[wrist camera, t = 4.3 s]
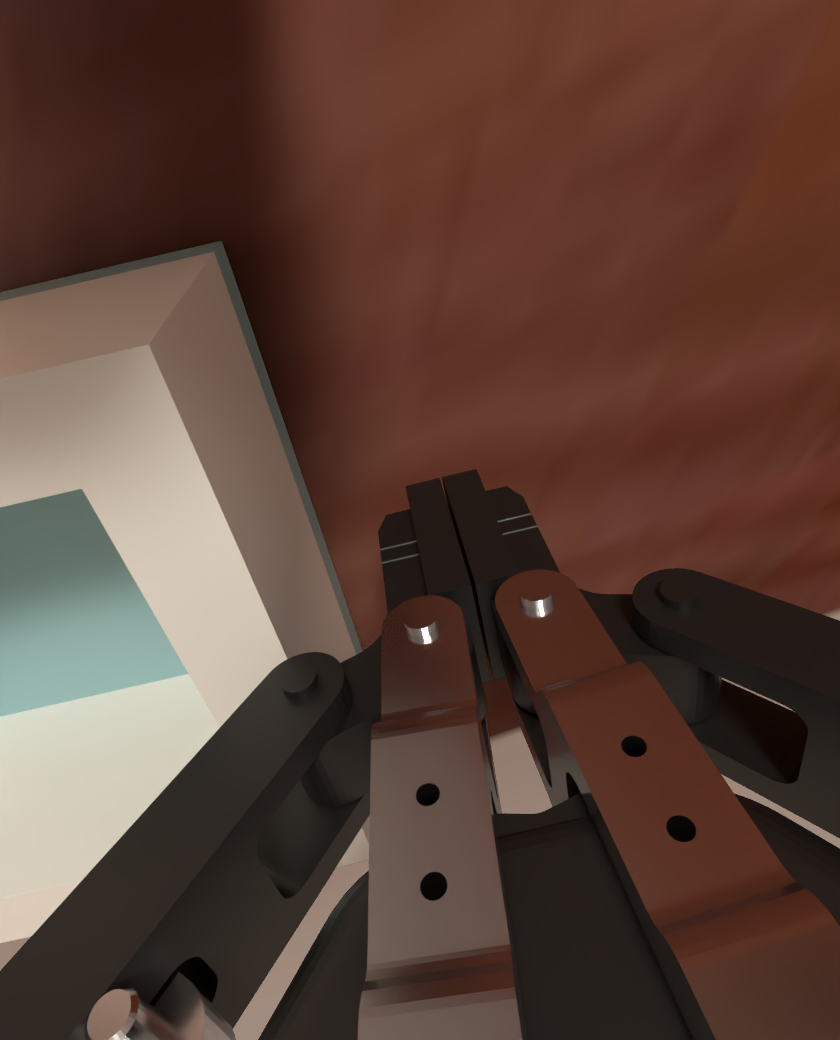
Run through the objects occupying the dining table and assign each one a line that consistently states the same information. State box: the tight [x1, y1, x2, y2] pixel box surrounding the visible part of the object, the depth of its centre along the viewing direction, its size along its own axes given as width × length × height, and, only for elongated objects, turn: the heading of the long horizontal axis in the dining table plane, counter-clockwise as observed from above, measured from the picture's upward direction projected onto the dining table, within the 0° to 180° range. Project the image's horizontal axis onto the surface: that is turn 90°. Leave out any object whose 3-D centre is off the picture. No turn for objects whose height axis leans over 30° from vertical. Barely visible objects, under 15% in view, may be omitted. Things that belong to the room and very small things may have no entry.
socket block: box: [0, 241, 370, 943], centre depth 13 cm, size 11×11×6 cm
